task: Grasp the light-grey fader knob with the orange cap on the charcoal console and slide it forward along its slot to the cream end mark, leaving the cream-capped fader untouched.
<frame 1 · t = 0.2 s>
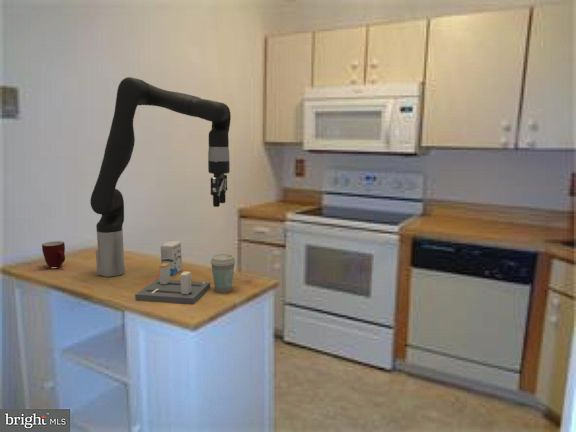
hand: (219, 204, 161), 29 cm above the countertop, fingers open, 8 cm apart
console: (174, 293, 151), on the countertop
ink box: (172, 272, 175), on the countertop
fader a: (165, 273, 155), point 6 cm above the countertop, slide at 0.0 cm
fader b: (186, 282, 145), point 6 cm above the countertop, slide at 0.0 cm
mug: (57, 268, 180), on the countertop
coffee cup: (223, 290, 155), on the countertop
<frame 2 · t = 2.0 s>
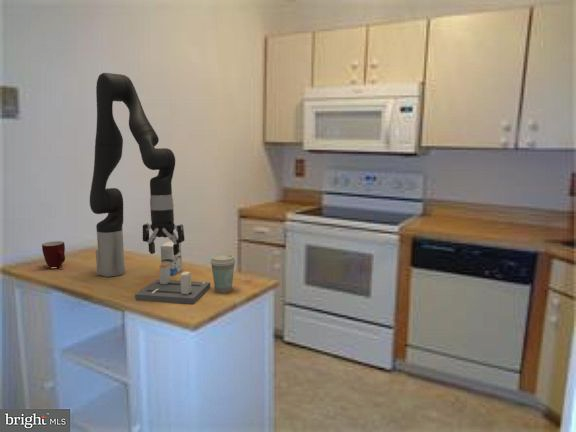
hand: (164, 254, 153), 13 cm above the countertop, fingers open, 8 cm apart
nothing on the countertop moved.
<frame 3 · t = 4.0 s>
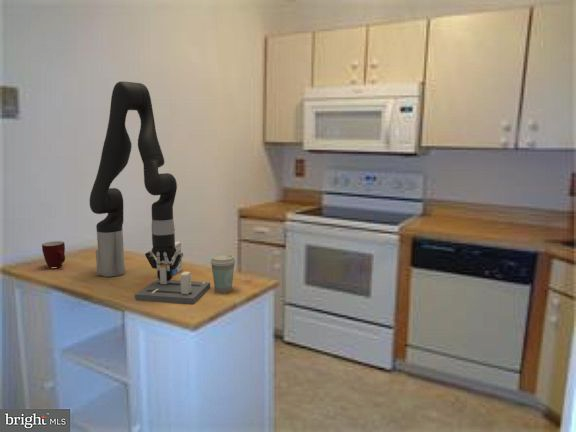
hand: (165, 280, 155), 3 cm above the countertop, fingers closed on fader a, 2 cm apart
fader a: (164, 273, 155), point 6 cm above the countertop, slide at 0.0 cm, touching gripper
everything else where it was.
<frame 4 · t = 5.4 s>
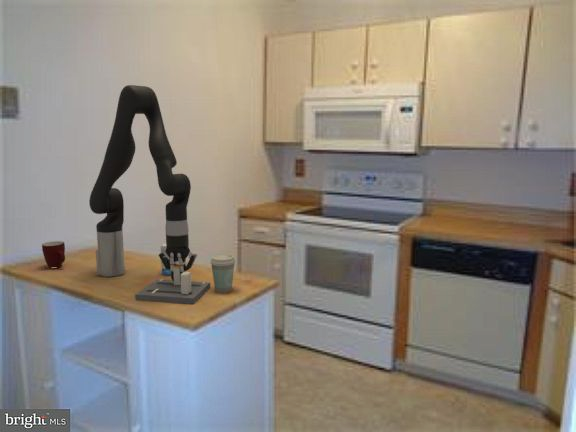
hand: (178, 280, 154), 3 cm above the countertop, fingers closed on fader a, 2 cm apart
fader a: (178, 274, 154), point 6 cm above the countertop, slide at 5.0 cm, touching gripper
everything else where it was.
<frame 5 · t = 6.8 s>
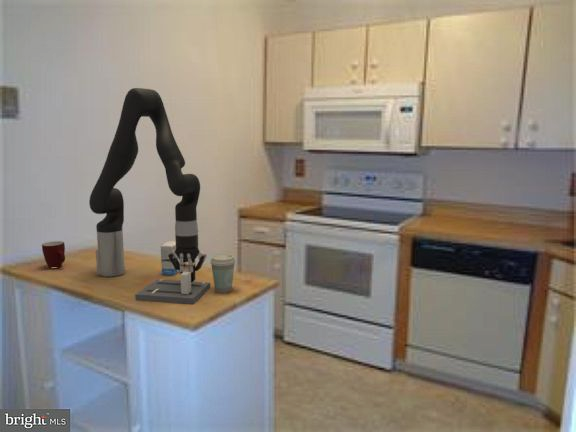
hand: (188, 281, 154), 3 cm above the countertop, fingers closed on fader a, 2 cm apart
fader a: (187, 275, 153), point 6 cm above the countertop, slide at 8.4 cm, touching gripper
everything else where it was.
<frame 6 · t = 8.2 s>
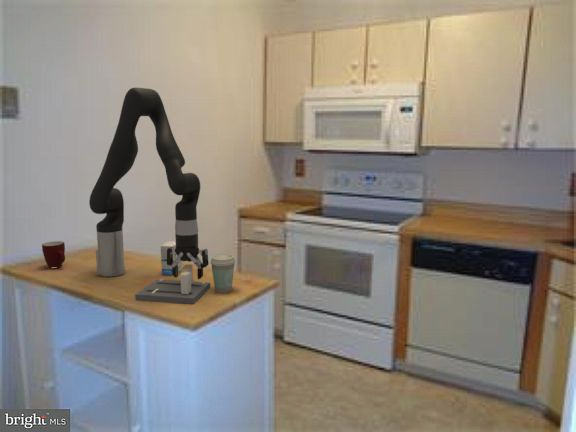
hand: (188, 277, 154), 5 cm above the countertop, fingers open, 8 cm apart
fader a: (187, 275, 153), point 6 cm above the countertop, slide at 8.4 cm
everything else where it was.
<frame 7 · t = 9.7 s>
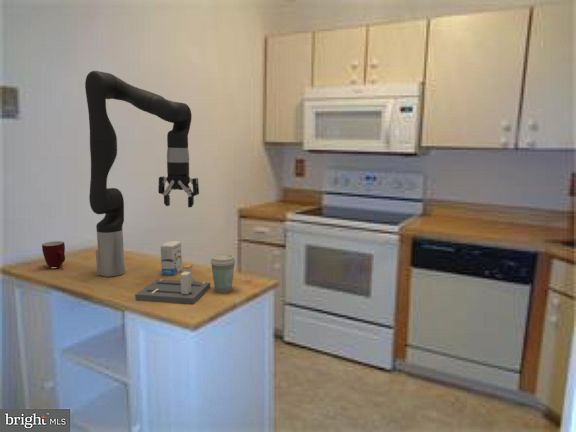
hand: (178, 206, 158), 28 cm above the countertop, fingers open, 8 cm apart
nothing on the countertop moved.
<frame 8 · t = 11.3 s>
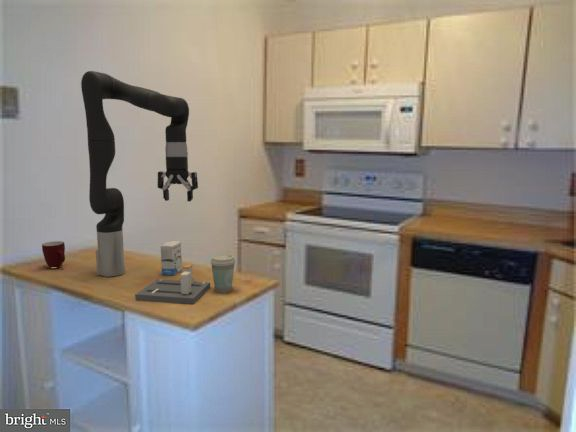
hand: (178, 200, 159), 30 cm above the countertop, fingers open, 8 cm apart
nothing on the countertop moved.
at the end: fader a slide at 8.4 cm; the gripper is holding nothing; fader b slide at 0.0 cm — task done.
